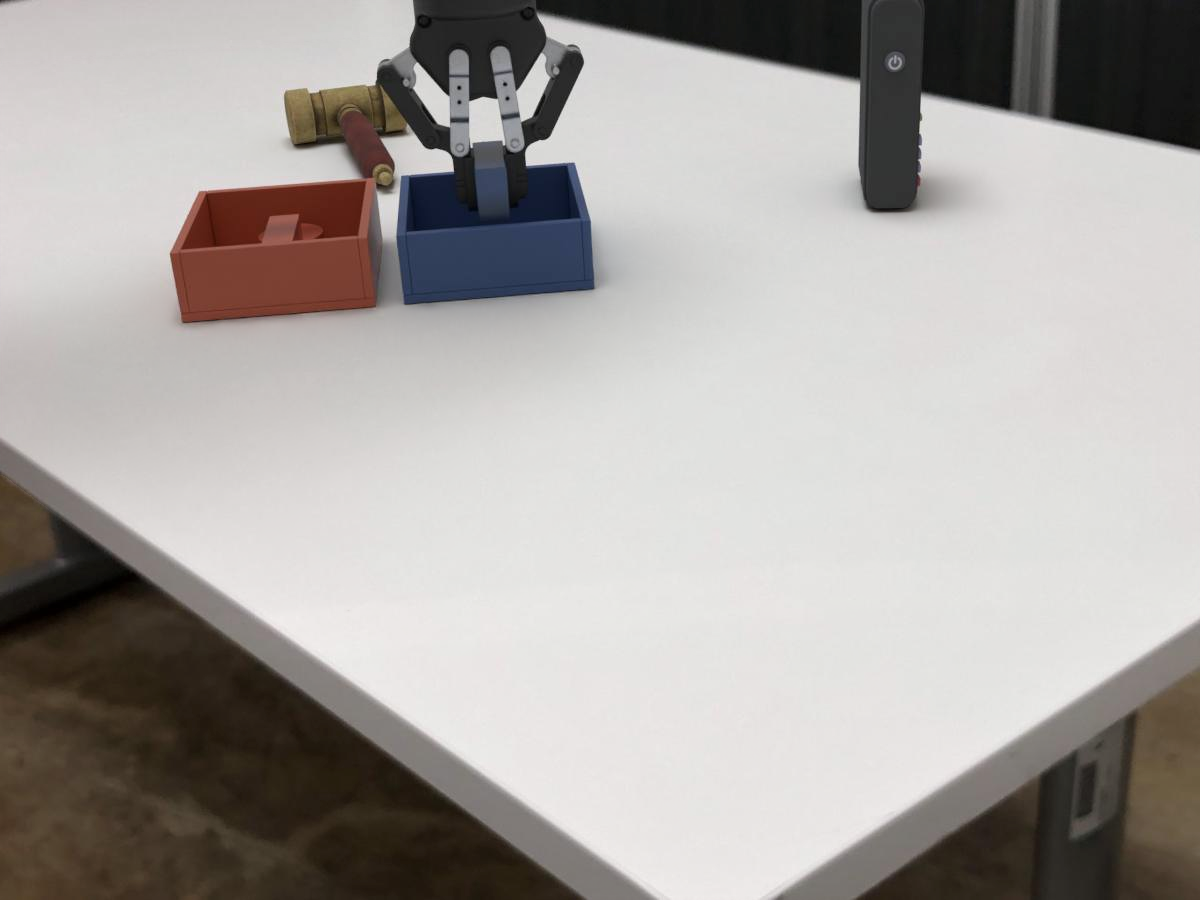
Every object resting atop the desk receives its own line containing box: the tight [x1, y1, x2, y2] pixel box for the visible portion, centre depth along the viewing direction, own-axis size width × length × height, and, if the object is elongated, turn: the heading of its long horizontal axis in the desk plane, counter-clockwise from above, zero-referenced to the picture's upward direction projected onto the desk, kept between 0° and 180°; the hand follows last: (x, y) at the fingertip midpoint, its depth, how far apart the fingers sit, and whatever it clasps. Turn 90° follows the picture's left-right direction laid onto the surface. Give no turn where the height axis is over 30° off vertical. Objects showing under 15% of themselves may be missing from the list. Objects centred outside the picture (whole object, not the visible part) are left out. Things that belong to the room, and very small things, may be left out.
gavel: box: [283, 78, 408, 186], centre depth 130 cm, size 21×5×10 cm
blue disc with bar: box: [471, 139, 511, 223], centre depth 103 cm, size 10×4×4 cm, turn 5°
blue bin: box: [395, 161, 596, 305], centre depth 105 cm, size 12×13×5 cm
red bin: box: [169, 178, 384, 323], centre depth 104 cm, size 12×13×5 cm
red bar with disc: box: [258, 214, 324, 244], centre depth 104 cm, size 10×4×4 cm, turn 5°
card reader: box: [857, 0, 926, 209], centre depth 112 cm, size 9×4×15 cm, turn 174°
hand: (492, 205), depth 102 cm, fingers closed on blue disc with bar, 2 cm apart
